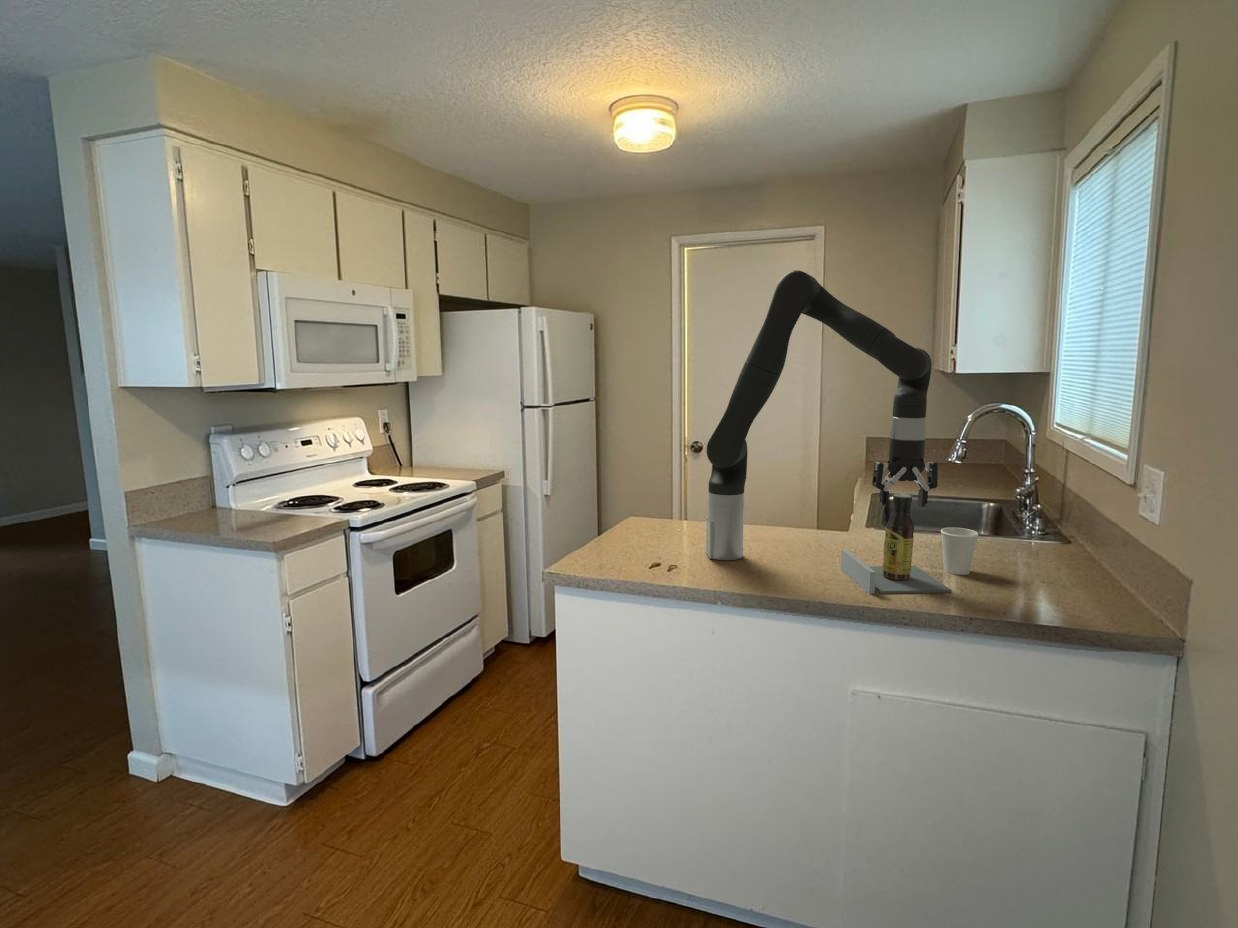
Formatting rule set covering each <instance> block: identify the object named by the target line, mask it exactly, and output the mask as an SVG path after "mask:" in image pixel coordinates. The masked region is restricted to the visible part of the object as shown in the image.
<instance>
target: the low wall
mask: <svg viewBox="0 0 1238 928" xmlns="http://www.w3.org/2000/svg"><path fill="white" fill-rule="evenodd" d="M840 560H841V561H840V562H841V563H840V570H841V571H842V572H843V573H844V574H846V575H847V576H848V577H849V578H850V579H851V580H853V582H855V583H856V584H857V585H859V586H860V587H861V589H863V590H864V591H865V592H867V594H868V595H875V593H876V589H875V576H876V572H875V571H874V570H872V569H871V568H870V567H871V566H869V565H867V564H866V563H865V562H863V561H862V560H860V558H858V557H856V556H855V555H854V554H853V553H852V552H851V551H849V550H848V549H841V559H840Z"/></svg>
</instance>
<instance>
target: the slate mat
mask: <svg viewBox="0 0 1238 928" xmlns="http://www.w3.org/2000/svg"><path fill="white" fill-rule="evenodd" d="M869 567H870V568H871V569H872V570H874V571H875V572H876V576H875V591H877V592H878V593H879V594H883V595H884V594H886V595H887V594H889V595H890V594H937V593H940V594H942V593H948V594H949V593H952V589H951V588H949V587H948V586H946V585H945V584H943V583H942V582H941V581H939V580H937V579H935V578H934V577H933V576H931V575H930V574H928V573H927V572H925V571H924V570H923V569H921V568H919V567H917V566H916V565H911V572H910V577H909V579H907V580H891V579H889V578H886V577H884V576H883V568H882V567H883V565H882V566H880V565H877V566H876V565H875V566H873V565H871V566H869Z"/></svg>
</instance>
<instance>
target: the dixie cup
mask: <svg viewBox="0 0 1238 928" xmlns="http://www.w3.org/2000/svg"><path fill="white" fill-rule="evenodd" d="M940 533H941V543H942V545H941V546H942V547H941V548H942V560H943V571H944V572H945V573H948V574H951V575H957V576H964V575H969V574H970V572H971V568H972V563H973V558H974V554H975V550H976V545H977V540H978V537H979V532H978V531H976V530H973V529H969V528H963V527H943V528H942V529H941V530H940Z"/></svg>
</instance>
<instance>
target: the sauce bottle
mask: <svg viewBox="0 0 1238 928" xmlns="http://www.w3.org/2000/svg"><path fill="white" fill-rule="evenodd" d="M912 501H913V496H912V495H910V494H907V493H895V494H893V496H892V502H893V504H892V505H893V507H892V513H891V515H890V517H889V519H888V521H887V524H886V527H885V531H884V532H885V533H884V542H883V543H884V545H883V558H882V566H883V567H882V568H883V576H884V577H886V578H889V579H891V580H907V579H909V577H910V572H911V566H912V561H913V549H914V540H915V539H914V538H915V536H914V532H915V523H914V521H913V520H912V517H911V504H912Z"/></svg>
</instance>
